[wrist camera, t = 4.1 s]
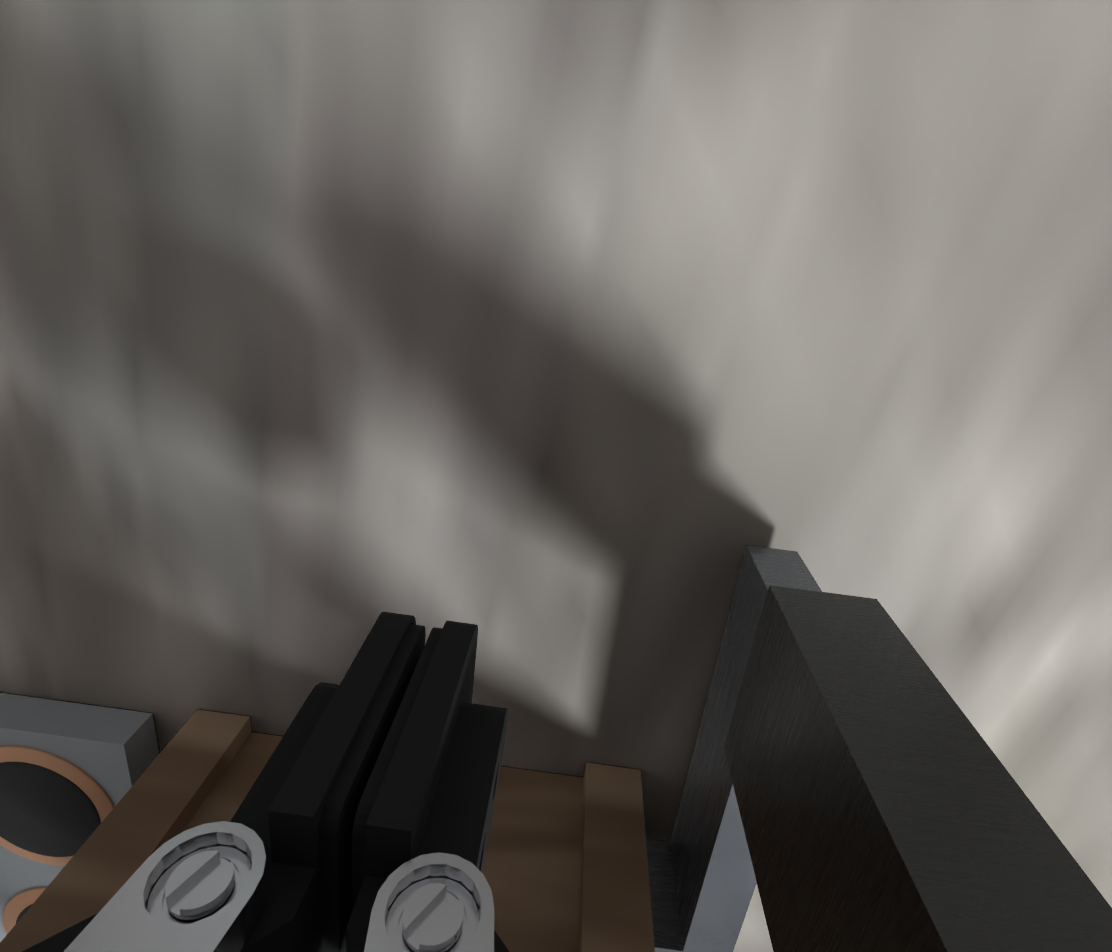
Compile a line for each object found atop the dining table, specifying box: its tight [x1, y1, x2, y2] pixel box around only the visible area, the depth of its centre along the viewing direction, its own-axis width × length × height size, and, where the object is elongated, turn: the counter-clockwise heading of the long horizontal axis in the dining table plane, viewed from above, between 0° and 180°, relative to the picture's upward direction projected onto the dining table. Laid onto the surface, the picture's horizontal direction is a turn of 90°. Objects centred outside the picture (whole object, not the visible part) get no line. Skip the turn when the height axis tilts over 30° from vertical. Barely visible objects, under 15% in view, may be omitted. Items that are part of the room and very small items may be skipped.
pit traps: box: [0, 693, 159, 942], centre depth 20 cm, size 12×6×1 cm, turn 174°
